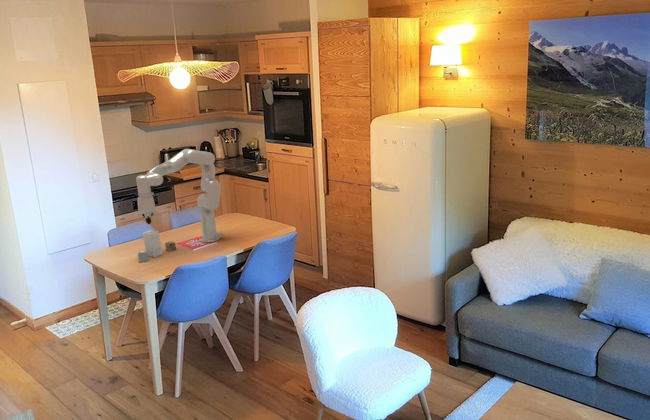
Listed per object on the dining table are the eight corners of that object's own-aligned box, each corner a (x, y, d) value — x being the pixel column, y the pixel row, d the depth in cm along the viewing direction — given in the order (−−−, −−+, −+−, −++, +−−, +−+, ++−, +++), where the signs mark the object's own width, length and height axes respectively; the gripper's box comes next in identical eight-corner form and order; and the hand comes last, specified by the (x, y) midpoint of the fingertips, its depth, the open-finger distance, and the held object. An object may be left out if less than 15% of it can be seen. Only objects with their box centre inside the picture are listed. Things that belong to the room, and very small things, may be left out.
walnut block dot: (173, 248, 366) (172, 240, 365) (176, 250, 362) (175, 242, 361) (166, 250, 363) (164, 242, 362) (168, 251, 359) (167, 244, 358)
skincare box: (163, 254, 355) (159, 231, 351) (155, 257, 350) (151, 234, 346) (153, 252, 359) (150, 229, 355) (145, 256, 354) (142, 232, 350)
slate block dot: (148, 258, 348) (146, 249, 347) (147, 261, 344) (146, 252, 342) (140, 260, 348) (138, 250, 346) (139, 262, 343) (137, 253, 341)
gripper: (156, 192, 350) (160, 220, 355) (131, 195, 345) (136, 224, 350) (158, 194, 343) (162, 223, 348) (132, 198, 338) (136, 227, 343)
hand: (149, 223), depth 349 cm, fingers closed
